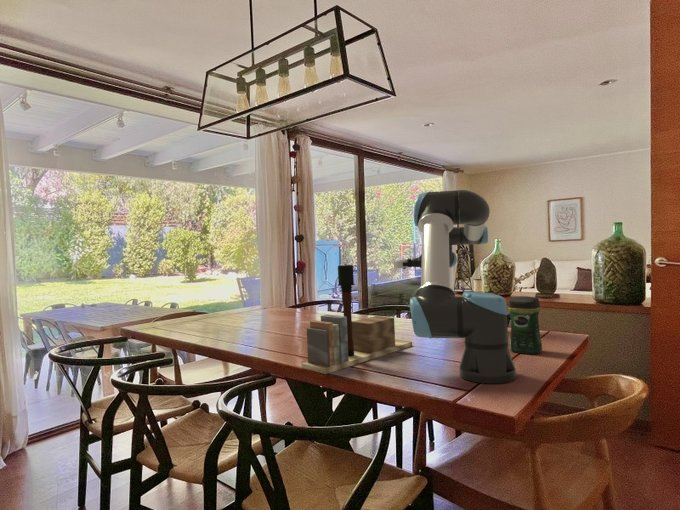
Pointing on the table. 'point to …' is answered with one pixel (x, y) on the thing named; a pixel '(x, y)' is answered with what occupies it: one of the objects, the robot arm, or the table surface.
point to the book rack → (337, 346)
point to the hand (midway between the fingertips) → (395, 264)
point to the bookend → (373, 334)
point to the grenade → (347, 299)
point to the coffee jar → (525, 325)
